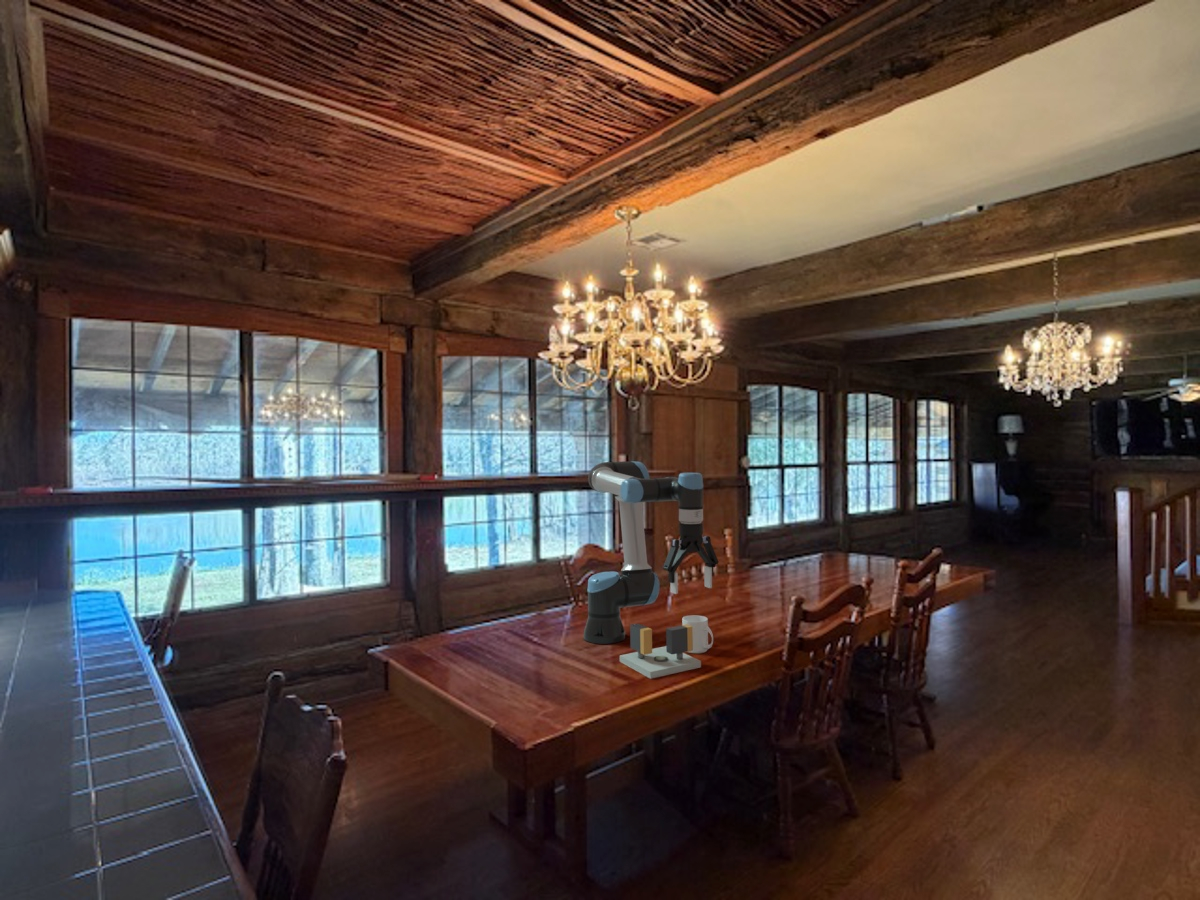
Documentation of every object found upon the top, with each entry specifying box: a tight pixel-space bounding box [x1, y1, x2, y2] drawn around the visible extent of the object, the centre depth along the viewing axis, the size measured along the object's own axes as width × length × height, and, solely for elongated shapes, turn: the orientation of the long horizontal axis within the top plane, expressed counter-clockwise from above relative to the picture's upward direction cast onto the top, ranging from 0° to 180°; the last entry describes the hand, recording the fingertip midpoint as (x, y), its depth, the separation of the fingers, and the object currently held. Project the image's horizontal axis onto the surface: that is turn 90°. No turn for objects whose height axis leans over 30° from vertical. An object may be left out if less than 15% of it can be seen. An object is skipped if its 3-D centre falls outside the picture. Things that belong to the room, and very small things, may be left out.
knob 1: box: [629, 623, 653, 659], centre depth 203 cm, size 8×3×10 cm, turn 29°
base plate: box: [619, 645, 702, 680], centre depth 203 cm, size 18×19×3 cm
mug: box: [681, 615, 714, 654], centre depth 216 cm, size 9×12×11 cm
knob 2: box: [665, 624, 693, 659], centre depth 202 cm, size 8×3×10 cm, turn 119°
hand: (691, 590), depth 199 cm, fingers open, 13 cm apart
